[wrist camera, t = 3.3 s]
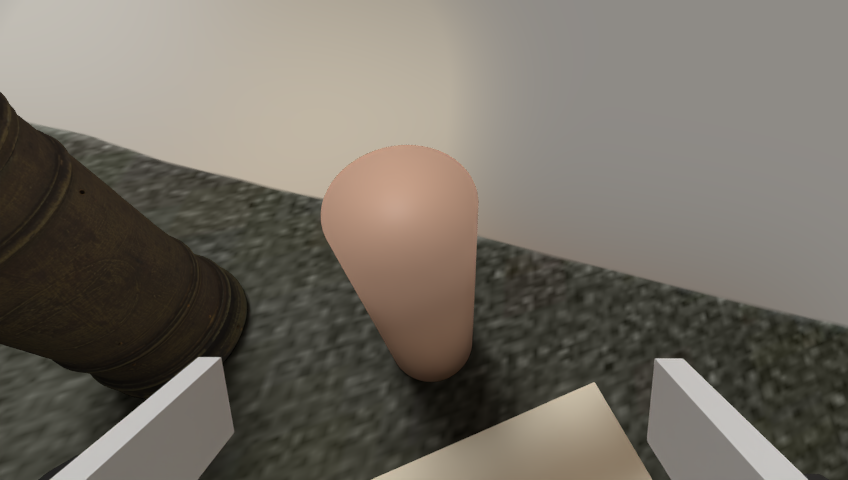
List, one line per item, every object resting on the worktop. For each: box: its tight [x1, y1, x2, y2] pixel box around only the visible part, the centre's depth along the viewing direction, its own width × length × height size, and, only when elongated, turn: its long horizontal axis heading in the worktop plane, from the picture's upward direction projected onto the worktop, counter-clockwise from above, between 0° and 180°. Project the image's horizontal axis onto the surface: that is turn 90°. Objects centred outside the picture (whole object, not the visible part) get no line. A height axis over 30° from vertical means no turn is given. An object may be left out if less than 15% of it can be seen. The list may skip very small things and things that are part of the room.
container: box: [0, 92, 247, 398], centre depth 19 cm, size 9×9×18 cm
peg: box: [321, 145, 478, 382], centre depth 19 cm, size 5×5×14 cm
